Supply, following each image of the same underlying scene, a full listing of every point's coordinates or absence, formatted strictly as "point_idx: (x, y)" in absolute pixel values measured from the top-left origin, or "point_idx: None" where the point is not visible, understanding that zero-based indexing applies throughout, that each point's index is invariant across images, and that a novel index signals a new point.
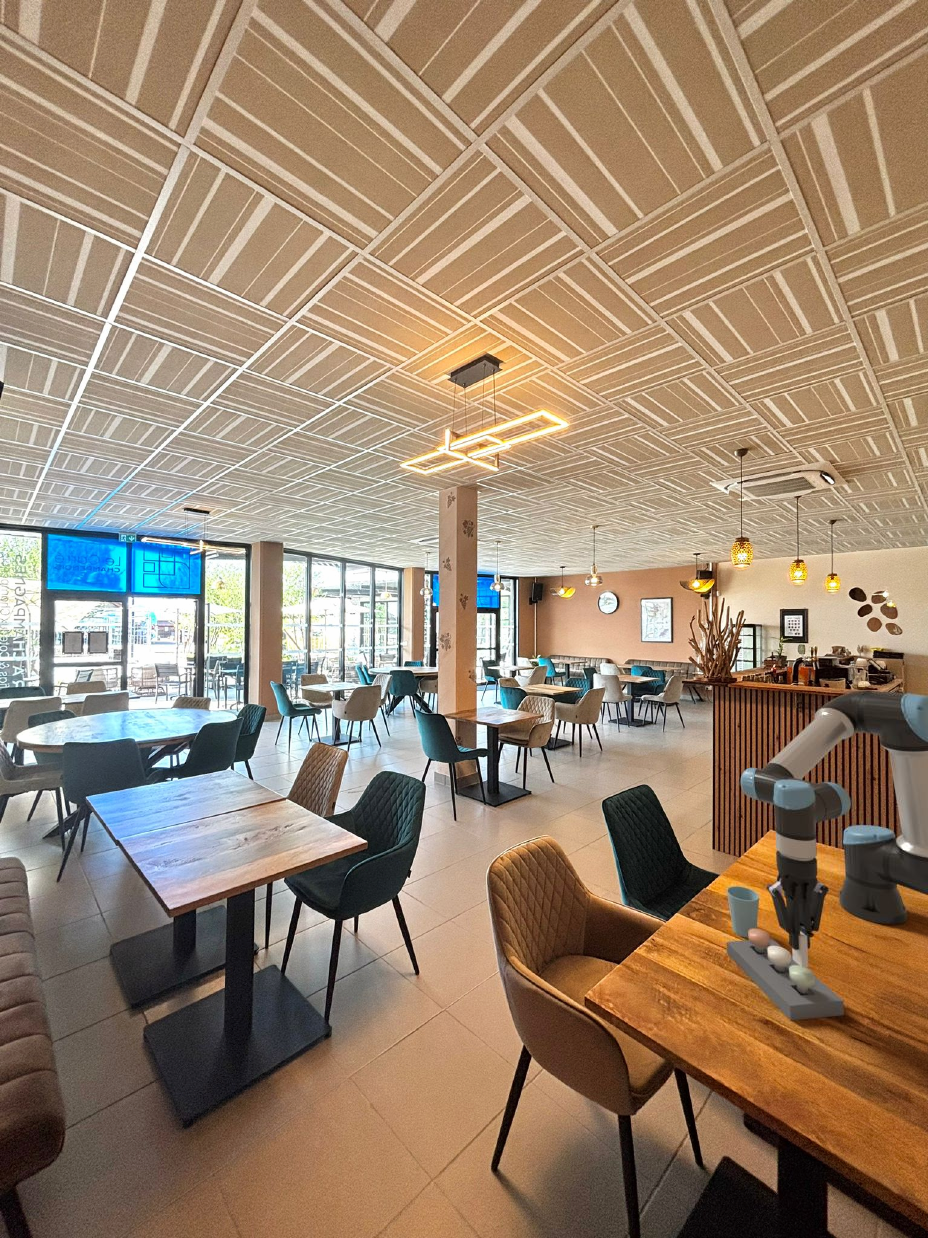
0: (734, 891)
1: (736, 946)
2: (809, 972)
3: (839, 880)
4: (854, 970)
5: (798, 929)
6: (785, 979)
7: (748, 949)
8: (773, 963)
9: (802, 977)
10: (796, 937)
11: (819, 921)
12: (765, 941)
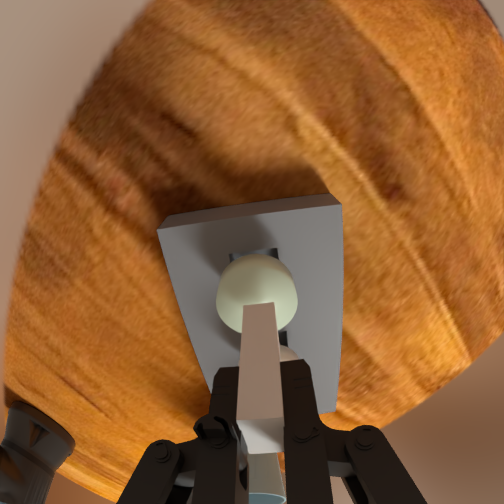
0: (257, 500)
1: (324, 403)
2: (227, 304)
3: (70, 461)
4: (86, 345)
5: (298, 458)
6: None
7: None
8: None
9: (272, 278)
10: (298, 414)
11: (130, 490)
12: None
